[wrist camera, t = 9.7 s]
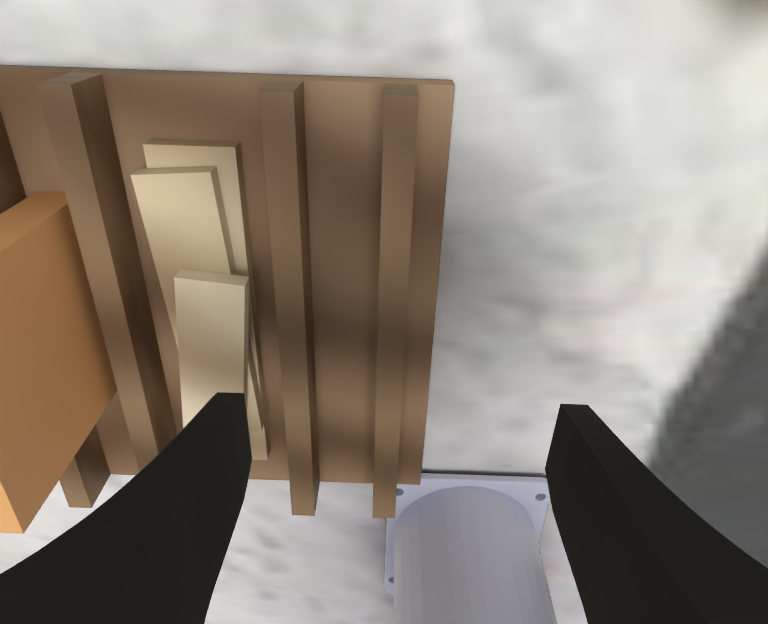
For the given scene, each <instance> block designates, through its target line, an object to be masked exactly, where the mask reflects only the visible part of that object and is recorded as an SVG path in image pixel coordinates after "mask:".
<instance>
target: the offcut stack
mask: <svg viewBox="0 0 768 624" xmlns="http://www.w3.org/2000/svg"><path fill="white" fill-rule="evenodd" d="M143 149H144V154H145V159H146V165H147V168H139V169H137V170H136V171H135V172H134V173H132V174H131V179H132V183H133V186H134V190H135V194H136V197H137V201H138V205H139V208H140V212H141V216H142V219H143V223H144V227H145V230H146V234H147V238H148V241H149V245H150V249H151V252H152V256H153V260H154V263H155V267H156V271H157V274H158V278H159V282H160V285H161V289H162V292H163V296H164V300H165V303H166V307H167V311H168V314H169V318H170V322H171V325H172V329H173V333H174V336H175V340H176V344H177V347H178V352H179V368H180V385H181V401H182V417H183V428H184V427H185V426H186V425H187V424H188V423H189V422H190V421H191V420H192V419H193V418H194V416H195V415H196V414H197V413H198V412H199V411H200V410H201V409H202V408H203V407H204V405H205V404H206V403H207V402H208V401H209V400H210V399H211V398H212V397H213V396H214V395H215V394H216V393H217V392H228V393H244V396H245V404H246V412H247V420H248V428H249V436H250V444H251V453H252V460H268V457H269V453H270V450H271V447H270V437H269V427H268V417H267V407H266V397H265V387H264V377H263V367H262V357H261V347H260V337H259V327H258V317H257V306H256V296H255V286H254V276H253V266H252V256H251V246H250V236H249V226H248V216H247V206H246V196H245V186H244V175H243V165H242V155H241V145H240V142H233V141H203V140H173V139H150V140H148V141H147V142H145V143H144V144H143Z"/></svg>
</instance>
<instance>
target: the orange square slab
mask: <svg viewBox="0 0 768 624" xmlns="http://www.w3.org/2000/svg"><path fill="white" fill-rule="evenodd" d="M117 391H118V390H117V386H116V382H115V378H114V375H113V371H112V367H111V363H110V360H109V356H108V352H107V348H106V345H105V341H104V337H103V333H102V329H101V326H100V322H99V318H98V314H97V311H96V307H95V303H94V299H93V296H92V292H91V288H90V284H89V281H88V277H87V273H86V269H85V266H84V262H83V258H82V254H81V251H80V247H79V243H78V239H77V236H76V232H75V228H74V224H73V221H72V217H71V213H70V209H69V206H68V202H67V198H66V194H65V192H64V191H37V192H35V193H33V194H32V195H30V196H29V197H27V198H25V199H24V200H22V201H21V202H19V203H17V204H16V205H14V206H13V207H11V208H9V209H8V210H6V211H5V212H3V213H1V214H0V533H22V534H24V532H25V531H26V529H27V528H28V526H29V525H30V523H31V522H32V520H33V519H34V517H35V515H36V514H37V512H38V511H39V509H40V508H41V506H42V505H43V503H44V502H45V500H46V499H47V497H48V496H49V494H50V493H51V491H52V490H53V488H54V487H55V485H56V484H57V482H58V481H59V479H60V477H61V476H62V474H63V473H64V471H65V470H66V468H67V467H68V465H69V464H70V462H71V461H72V459H73V458H74V456H75V455H76V453H77V452H78V450H79V449H80V447H81V446H82V444H83V443H84V441H85V439H86V438H87V436H88V435H89V433H90V432H91V430H92V429H93V427H94V426H95V424H96V423H97V421H98V420H99V418H100V417H101V415H102V414H103V412H104V411H105V409H106V408H107V406H108V405H109V403H110V401H111V400H112V398H113V397H114V395H115V394H116V392H117Z"/></svg>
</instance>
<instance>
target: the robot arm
mask: <svg viewBox="0 0 768 624" xmlns="http://www.w3.org/2000/svg"><path fill="white" fill-rule="evenodd" d="M251 463H252V453H251V444H250V436H249V428H248V420H247V412H246V404H245V396H244V393H228V392H217V393H216V394H215V395H214V396H213V397H212V398H211V399H210V400H209V401H208V402H207V403H206V404H205V405H204V407H203V408H202V409H201V410H200V411H199V412H198V413H197V414H196V415H195V416H194V418H193V419H192V420H191V421H190V422H189V423H188V424H187V425H186V426H185V427H184V428H183V429H182V430H181V432H180V433H179V434H178V435H177V436H176V437H175V438H174V439H173V440H172V441H171V442H170V443H169V444H168V445H167V446H166V447H165V448H164V449H163V450H162V451H161V452H160V453H159V454H158V455H157V456H156V457H155V458H154V459H153V460H152V461H151V462H150V463H149V464H148V465H147V466H145V467H144V468H143V469H142V470H141V471H140V472H139V473H138V474H137V475H136V476H135V477H134V478H132V479H131V480H130V481H129V482H128V483H127V484H126V485H125V486H124V487H122V488H121V489H120V490H119V491H118V492H117V493H115V494H114V495H113V496H112V497H111V498H110V499H108V500H107V501H106V502H105V503H103V504H102V505H101V506H100V507H98V508H97V509H96V510H95V511H93V512H92V513H91V514H90V515H88V516H87V517H86V518H84V519H83V520H82V521H80V522H79V523H78V524H76V525H75V526H73V527H72V528H70V529H69V530H68V531H66V532H65V533H63V534H62V535H60V536H59V537H57V538H56V539H55V540H53V541H52V542H50V543H49V544H47V545H46V546H44V547H43V548H42V549H40V550H39V551H37V552H35V553H34V554H32V555H31V556H29V557H28V558H26V559H24V560H23V561H21V562H20V563H18V564H16V565H15V566H13V567H12V568H10V569H8V570H6V571H5V572H3V573H1V574H0V624H204V622H205V618H206V614H207V610H208V607H209V603H210V600H211V596H212V593H213V590H214V587H215V584H216V581H217V578H218V575H219V572H220V569H221V566H222V563H223V560H224V557H225V555H226V552H227V549H228V546H229V543H230V540H231V537H232V534H233V531H234V528H235V525H236V522H237V519H238V516H239V513H240V510H241V507H242V504H243V501H244V497H245V492H246V487H247V483H248V478H249V473H250V468H251ZM545 472H546V477H547V478H543V477H519V476H490V475H462V474H433V473H421V482H420V485H408V484H397V489H398V488H399V489H400V490H397V492H396V509H395V518H387V527H386V548H385V570H384V592H385V593H386V594H387V595H390V596H394V624H557V621H556V617H555V613H554V609H553V605H552V601H551V596H550V592H549V588H548V584H547V580H546V576H545V572H544V568H543V564H542V559H541V555H540V551H539V547H538V544H539V540H540V536H541V532H542V528H543V524H544V520H545V517H546V513H547V509H548V505H549V501H550V499H551V504H552V509H553V513H554V516H555V520H556V523H557V526H558V529H559V532H560V536H561V539H562V542H563V545H564V548H565V551H566V554H567V557H568V560H569V564H570V567H571V570H572V573H573V576H574V579H575V582H576V585H577V588H578V591H579V594H580V598H581V601H582V604H583V607H584V611H585V614H586V618H587V622H588V624H768V568H766V567H765V566H763V565H762V564H761V563H759V562H758V561H756V560H755V559H753V558H752V557H751V556H749V555H748V554H747V553H745V552H744V551H743V550H741V549H740V548H738V547H737V546H736V545H734V544H733V543H732V542H731V541H729V540H728V539H727V538H726V537H724V536H723V535H722V534H721V533H719V532H718V531H717V530H716V529H714V528H713V527H712V526H711V525H709V524H708V523H707V522H706V521H704V520H703V519H702V518H701V517H700V516H698V515H697V514H696V513H695V512H694V511H693V510H691V509H690V508H689V507H688V506H687V505H686V504H685V503H684V502H683V501H681V500H680V499H679V498H678V497H677V496H676V495H675V494H674V493H673V492H672V491H671V490H669V489H668V488H667V487H666V486H665V485H664V484H663V483H662V482H661V481H660V480H659V479H658V478H657V477H656V476H655V475H654V474H653V473H652V472H651V471H650V470H649V469H648V468H647V467H646V466H645V465H644V464H643V463H642V462H641V461H640V460H639V459H638V458H637V457H636V456H635V455H634V454H633V453H632V452H631V451H630V450H629V449H628V448H627V447H626V446H625V445H624V444H623V442H622V441H621V440H620V439H619V438H618V437H617V436H616V435H615V434H614V433H613V432H612V431H611V430H610V429H609V427H608V426H607V425H606V424H605V423H604V422H603V421H602V420H601V419H600V418H599V417H598V415H597V414H596V413H595V412H594V411H593V410H592V409H591V408H590V407H589V406H588V405H577V404H560V408H559V413H558V417H557V421H556V425H555V429H554V433H553V438H552V442H551V446H550V450H549V454H548V458H547V463H546V467H545ZM541 493H542V494H541ZM538 494H539V495H538Z"/></svg>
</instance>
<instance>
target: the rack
mask: <svg viewBox="0 0 768 624" xmlns="http://www.w3.org/2000/svg"><path fill="white" fill-rule="evenodd" d="M454 89H455V85H454V83H453V81H452V80H435V79H405V78H375V77H345V76H315V75H285V74H256V73H226V72H196V71H166V70H136V69H106V68H76V67H46V66H17V65H0V214H1V213H3V212H5V211H6V210H8V209H9V208H11V207H13V206H14V205H16V204H17V203H19V202H21V201H22V200H24V199H25V198H27V197H29V196H30V195H32V194H33V193H35V192H37V191H64V192H65V194H66V198H67V202H68V206H69V209H70V213H71V217H72V221H73V224H74V228H75V232H76V236H77V239H78V243H79V247H80V251H81V254H82V258H83V262H84V266H85V269H86V273H87V277H88V281H89V284H90V288H91V292H92V296H93V299H94V303H95V307H96V311H97V314H98V318H99V322H100V326H101V329H102V333H103V337H104V341H105V345H106V348H107V352H108V356H109V360H110V363H111V367H112V371H113V375H114V378H115V382H116V386H117V390H118V391H117V392H116V394H115V395H114V397H113V398H112V400H111V401H110V403H109V405H108V406H107V408H106V409H105V411H104V412H103V414H102V415H101V417H100V418H99V420H98V421H97V423H96V424H95V426H94V427H93V429H92V430H91V432H90V433H89V435H88V436H87V438H86V439H85V441H84V443H83V444H82V446H81V447H80V449H79V450H78V452H77V453H76V455H75V456H74V458H73V459H72V461H71V462H70V464H69V465H68V467H67V468H66V470H65V471H64V473H63V474H62V476H61V477H60V479H59V481H60V483H61V486H62V489H63V491H64V494H65V497H66V500H67V502H68V505H69V507H81V508H92V506H93V504H94V503H95V501H96V499H97V497H98V496H99V494H100V492H101V490H102V488H103V487H104V485H105V483H106V481H107V480H108V478H109V476H110V474H121V475H137V474H138V473H139V472H140V471H141V470H142V469H143V468H144V467H145V466H147V465H148V464H149V463H150V462H151V461H152V460H153V459H154V458H155V457H156V456H157V455H158V454H159V453H160V452H161V451H162V450H163V449H164V448H165V447H166V446H167V445H168V444H169V443H170V442H171V441H172V440H173V439H174V438H175V437H176V436H177V435H178V434H179V433H180V432H181V430H182V429H183V417H182V401H181V385H180V368H179V352H178V347H177V344H176V340H175V336H174V333H173V329H172V325H171V322H170V318H169V314H168V311H167V307H166V303H165V300H164V296H163V292H162V289H161V285H160V282H159V278H158V274H157V271H156V267H155V263H154V260H153V256H152V252H151V249H150V245H149V241H148V238H147V234H146V230H145V227H144V223H143V219H142V216H141V212H140V208H139V205H138V201H137V197H136V194H135V190H134V186H133V183H132V179H131V174H132V173H134V172H135V171H136V170H137V169H139V168H147V165H146V159H145V154H144V149H143V144H144V143H145V142H147V141H148V140H150V139H173V140H203V141H233V142H240V145H241V155H242V165H243V175H244V186H245V196H246V206H247V216H248V226H249V236H250V246H251V256H252V266H253V276H254V286H255V296H256V306H257V317H258V327H259V337H260V347H261V357H262V367H263V377H264V387H265V397H266V407H267V417H268V427H269V437H270V447H271V450H270V453H269V457H268V460H252V463H251V468H250V473H249V478H248V479H265V480H290V492H291V505H292V515H310V516H315V510H316V503H317V496H318V490H319V483H320V481H322V482H351V483H374V487H373V518H395V509H396V492H397V484H408V485H420V482H421V470H422V459H423V447H424V436H425V424H426V413H427V401H428V389H429V378H430V366H431V355H432V343H433V332H434V320H435V308H436V297H437V285H438V274H439V262H440V251H441V239H442V228H443V216H444V204H445V193H446V181H447V170H448V158H449V147H450V135H451V123H452V112H453V100H454Z"/></svg>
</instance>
